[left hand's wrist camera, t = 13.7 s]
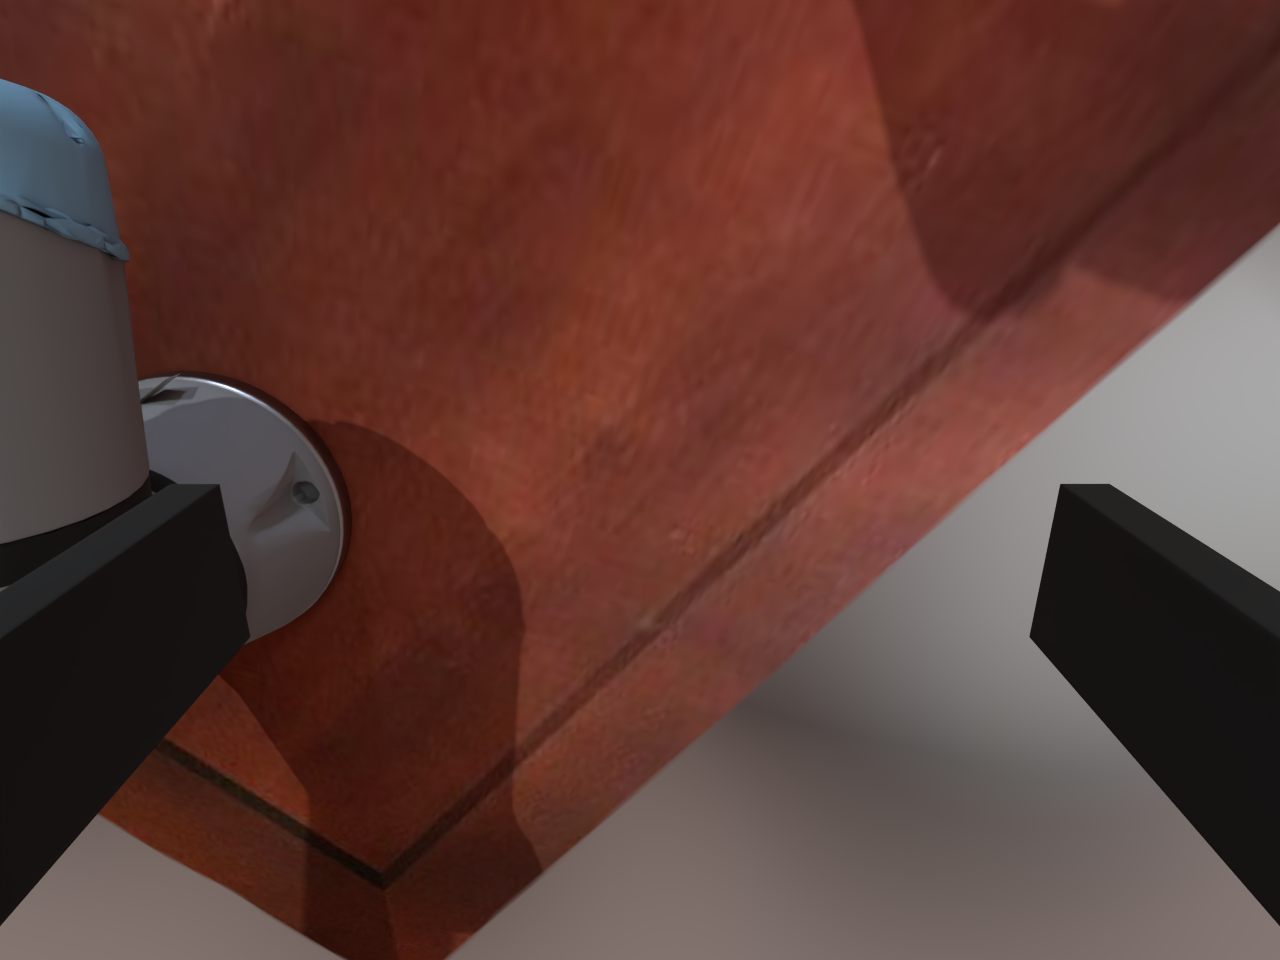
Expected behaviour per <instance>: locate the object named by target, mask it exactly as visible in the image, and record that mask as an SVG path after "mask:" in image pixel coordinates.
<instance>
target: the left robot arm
mask: <svg viewBox="0 0 1280 960" xmlns="http://www.w3.org/2000/svg"><path fill="white" fill-rule="evenodd" d="M128 261H129V252H128V249H127V247H126V246H125V245H124V244H123V243H122V242H121V241H120V236H119V231H118V226H117V222H116V217H115V212H114V207H113V203H112V197H111V191H110V186H109V180H108V174H107V169H106V163H105V159H104V156H103V152H102V150H101V148H100V145H99V143H98V141H97V140H96V138H95V137H94V135H93V133H92V132H91V131H90V129H89V128H88V127H87V126H86V125H85V124H84V122H83V121H82V120H81V119H80V118H79V117H78V116H76V115H75V114H74V113H73V112H72V111H71V110H69V109H68V108H66V107H65V106H63V105H62V104H60V103H59V102H57V101H55V100H53V99H52V98H50V97H48V96H46V95H44V94H41V93H39V92H37V91H34V90H31V89H29V88H26V87H24V86H21V85H18V84H15V83H11V82H8V81H5V80H2V79H0V926H1V924H2V923H3V922H4V921H5V920H6V919H7V918H8V916H9V915H10V914H11V913H12V912H13V911H14V910H15V908H16V907H17V906H18V905H19V904H20V903H21V901H22V900H23V899H24V898H25V897H26V896H27V895H28V893H29V892H30V891H31V890H32V889H33V888H34V886H35V885H36V884H37V883H38V882H39V881H40V879H41V878H42V877H43V876H44V875H45V874H46V873H47V871H48V870H49V869H50V868H51V867H52V866H53V864H54V863H55V862H56V861H57V860H58V859H59V858H60V856H61V855H62V854H63V853H64V852H65V851H66V849H67V848H68V847H69V846H70V845H71V844H72V843H73V841H74V840H75V839H76V838H77V837H78V836H79V834H80V833H81V832H82V831H83V830H84V829H85V827H86V826H87V825H88V824H89V823H90V822H91V821H92V819H93V818H94V817H95V816H96V815H97V814H98V813H99V811H100V810H101V809H102V808H103V807H104V806H105V804H106V803H107V802H108V801H109V800H110V799H111V797H112V796H113V795H114V794H115V793H116V792H117V791H118V789H119V788H120V787H121V786H122V785H123V784H124V782H125V781H126V780H127V779H128V778H129V777H130V776H131V774H132V773H133V772H134V771H135V770H136V769H137V767H138V766H139V765H140V764H141V763H142V762H143V761H144V759H145V758H146V757H147V756H148V755H149V754H150V752H151V751H152V750H153V749H154V748H155V747H156V746H157V744H158V743H159V742H160V741H161V740H162V739H163V737H164V736H165V735H166V734H167V733H168V732H169V730H170V729H171V728H172V727H173V726H174V725H175V724H176V722H177V721H178V720H179V719H180V718H181V717H182V715H183V714H184V713H185V712H186V711H187V710H188V709H189V707H190V706H191V705H192V704H193V703H194V702H195V700H196V699H197V698H198V697H199V696H200V695H201V694H202V692H203V691H204V690H205V689H206V688H207V687H208V685H209V684H210V683H211V682H212V681H213V680H214V679H215V677H216V676H217V675H218V674H219V673H220V672H221V670H222V669H223V668H224V667H225V666H226V665H227V664H228V662H229V661H230V660H231V659H232V658H233V657H234V655H235V654H236V653H237V652H238V651H239V650H240V648H241V647H242V646H243V645H245V644H247V643H249V642H251V641H254V640H256V639H258V638H260V637H262V636H264V635H266V634H268V633H271V632H273V631H275V630H277V629H279V628H281V627H283V626H285V625H287V624H288V623H290V622H291V621H293V620H294V619H296V618H297V617H299V616H300V615H302V614H303V613H304V612H305V611H306V610H308V609H309V608H310V607H311V606H312V605H313V604H314V603H315V602H316V601H317V600H318V599H319V597H320V596H321V595H322V594H323V592H324V591H325V590H326V588H327V587H328V586H329V585H330V583H331V582H332V580H333V579H334V578H335V576H336V575H337V573H338V571H339V569H340V568H341V565H342V563H343V561H344V558H345V556H346V552H347V549H348V545H349V540H350V533H351V510H350V503H349V497H348V493H347V490H346V486H345V483H344V480H343V478H342V475H341V472H340V470H339V468H338V466H337V464H336V462H335V460H334V458H333V457H332V455H331V453H330V452H329V450H328V448H327V447H326V446H325V444H324V443H323V442H322V440H321V439H320V437H319V436H318V435H317V434H316V433H315V432H314V431H313V429H312V428H311V427H310V426H309V425H308V424H307V423H306V422H305V421H304V420H303V419H302V418H301V417H300V416H299V415H297V414H296V413H295V412H294V411H292V410H291V409H290V408H289V407H288V406H286V405H285V404H283V403H282V402H280V401H279V400H277V399H276V398H274V397H273V396H271V395H269V394H267V393H266V392H264V391H262V390H260V389H258V388H256V387H253V386H251V385H249V384H247V383H244V382H241V381H238V380H236V379H232V378H229V377H225V376H221V375H216V374H211V373H204V372H192V371H184V372H169V373H161V374H157V375H152V376H148V377H145V378H142V379H140V380H138V377H137V369H136V360H135V351H134V342H133V334H132V325H131V316H130V307H129V298H128V289H127V280H126V272H125V263H124V262H128ZM1030 638H1031V639H1032V640H1033V642H1034V643H1035V644H1036V645H1037V646H1038V647H1039V648H1040V650H1041V651H1042V652H1043V653H1044V654H1045V655H1046V657H1047V658H1048V659H1049V660H1050V661H1051V662H1052V664H1053V665H1054V666H1055V667H1056V668H1057V669H1058V670H1059V672H1060V673H1061V674H1062V675H1063V676H1064V677H1065V679H1066V680H1067V681H1068V682H1069V683H1070V684H1071V685H1072V687H1073V688H1074V689H1075V690H1076V691H1077V692H1078V694H1079V695H1080V696H1081V697H1082V698H1083V699H1084V700H1085V702H1086V703H1087V704H1088V705H1089V706H1090V707H1091V709H1092V710H1093V711H1094V712H1095V713H1096V714H1097V715H1098V717H1099V718H1100V719H1101V720H1102V721H1103V722H1104V723H1105V725H1106V726H1107V727H1108V728H1109V729H1110V730H1111V732H1112V733H1113V734H1114V735H1115V736H1116V737H1117V739H1118V740H1119V741H1120V742H1121V743H1122V744H1123V745H1124V747H1125V748H1126V749H1127V750H1128V751H1129V752H1130V754H1131V755H1132V756H1133V757H1134V758H1135V759H1136V761H1137V762H1138V763H1139V764H1140V765H1141V766H1142V767H1143V769H1144V770H1145V771H1146V772H1147V773H1148V774H1149V775H1150V777H1151V778H1152V779H1153V780H1154V781H1155V782H1156V784H1157V785H1158V786H1159V787H1160V788H1161V789H1162V791H1163V792H1164V793H1165V794H1166V795H1167V796H1168V797H1169V799H1170V800H1171V801H1172V802H1173V803H1174V804H1175V805H1176V807H1177V808H1178V809H1179V810H1180V811H1181V813H1182V814H1183V815H1184V816H1185V817H1186V818H1187V819H1188V820H1189V822H1190V823H1191V824H1192V825H1193V826H1194V828H1195V829H1196V830H1197V831H1198V832H1199V833H1200V834H1201V836H1202V837H1203V838H1204V839H1205V840H1206V841H1207V843H1208V844H1209V845H1210V846H1211V847H1212V848H1213V849H1214V851H1215V852H1216V853H1217V854H1218V855H1219V856H1220V858H1221V859H1222V860H1223V861H1224V862H1225V863H1226V864H1227V866H1228V867H1229V868H1230V869H1231V870H1232V871H1233V873H1234V874H1235V875H1236V876H1237V877H1238V878H1239V879H1240V881H1241V882H1242V883H1243V884H1244V885H1245V886H1246V888H1247V889H1248V890H1249V891H1250V892H1251V893H1252V895H1253V896H1254V897H1255V898H1256V899H1257V900H1258V901H1259V903H1260V904H1261V905H1262V906H1263V907H1264V908H1265V910H1266V911H1267V912H1268V913H1269V914H1270V915H1271V916H1272V918H1273V919H1274V920H1275V921H1276V922H1277V923H1278V925H1279V926H1280V592H1279V591H1278V590H1276V589H1275V588H1273V587H1272V586H1270V585H1268V584H1267V583H1265V582H1264V581H1262V580H1260V579H1259V578H1257V577H1256V576H1254V575H1253V574H1251V573H1249V572H1248V571H1246V570H1245V569H1243V568H1241V567H1240V566H1238V565H1237V564H1235V563H1234V562H1232V561H1230V560H1229V559H1227V558H1226V557H1224V556H1223V555H1221V554H1219V553H1218V552H1216V551H1215V550H1213V549H1211V548H1210V547H1208V546H1207V545H1205V544H1204V543H1202V542H1200V541H1199V540H1197V539H1196V538H1194V537H1192V536H1191V535H1189V534H1188V533H1186V532H1185V531H1183V530H1181V529H1180V528H1178V527H1177V526H1175V525H1173V524H1172V523H1170V522H1169V521H1167V520H1166V519H1164V518H1162V517H1161V516H1159V515H1158V514H1156V513H1155V512H1153V511H1151V510H1150V509H1148V508H1147V507H1145V506H1143V505H1142V504H1140V503H1139V502H1137V501H1136V500H1134V499H1132V498H1131V497H1129V496H1128V495H1126V494H1124V493H1123V492H1121V491H1120V490H1118V489H1117V488H1115V487H1113V486H1112V485H1110V484H1060V489H1059V494H1058V498H1057V503H1056V508H1055V513H1054V518H1053V523H1052V528H1051V533H1050V538H1049V543H1048V548H1047V553H1046V558H1045V563H1044V568H1043V573H1042V577H1041V582H1040V588H1039V592H1038V597H1037V602H1036V607H1035V612H1034V617H1033V622H1032V627H1031V632H1030Z"/></svg>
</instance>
